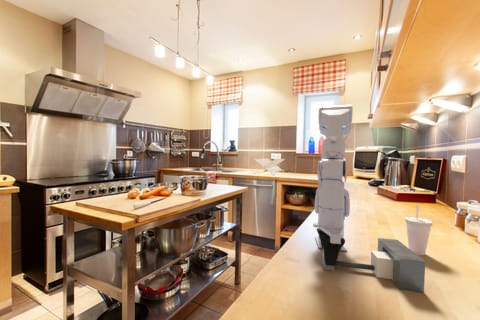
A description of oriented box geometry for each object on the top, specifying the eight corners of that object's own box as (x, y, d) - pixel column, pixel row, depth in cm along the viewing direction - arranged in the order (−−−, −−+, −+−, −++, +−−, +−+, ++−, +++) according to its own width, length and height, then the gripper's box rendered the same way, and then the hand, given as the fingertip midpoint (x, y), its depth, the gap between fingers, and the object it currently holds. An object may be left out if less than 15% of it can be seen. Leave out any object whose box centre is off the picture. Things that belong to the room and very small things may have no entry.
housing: (377, 262, 59) (378, 237, 58) (396, 264, 58) (397, 239, 57) (399, 289, 47) (400, 258, 47) (423, 292, 46) (425, 261, 46)
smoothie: (418, 248, 69) (420, 202, 68) (437, 257, 62) (439, 207, 62) (398, 247, 68) (400, 202, 68) (415, 257, 62) (417, 207, 62)
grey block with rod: (321, 262, 58) (322, 239, 58) (393, 271, 54) (394, 246, 54) (324, 270, 54) (325, 245, 54) (401, 280, 50) (402, 254, 50)
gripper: (311, 200, 63) (309, 247, 63) (317, 213, 49) (315, 274, 49) (337, 202, 62) (336, 250, 62) (352, 215, 47) (349, 279, 48)
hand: (328, 261), depth 55 cm, fingers closed on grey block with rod, 3 cm apart
